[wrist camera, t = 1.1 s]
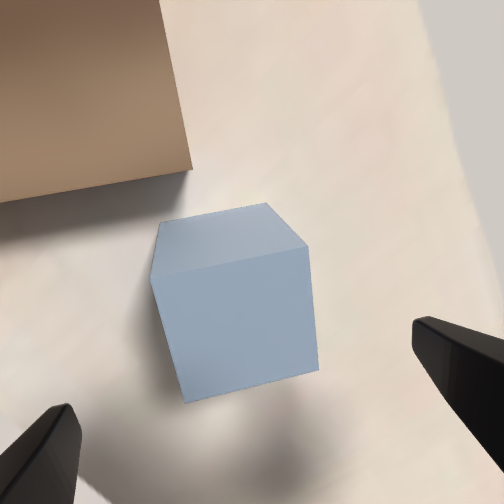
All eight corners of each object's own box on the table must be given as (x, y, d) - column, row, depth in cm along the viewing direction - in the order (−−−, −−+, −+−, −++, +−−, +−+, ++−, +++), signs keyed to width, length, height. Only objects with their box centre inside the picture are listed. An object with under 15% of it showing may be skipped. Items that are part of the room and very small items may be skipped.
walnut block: (190, 159, 14) (193, 169, 12) (-49, 199, 13) (-108, 221, 11) (130, -138, 11) (114, -222, 8) (-197, -115, 10) (-342, -204, 7)
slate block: (277, 294, 17) (319, 370, 12) (183, 314, 16) (184, 403, 11) (265, 202, 15) (308, 246, 10) (160, 222, 15) (149, 278, 10)
